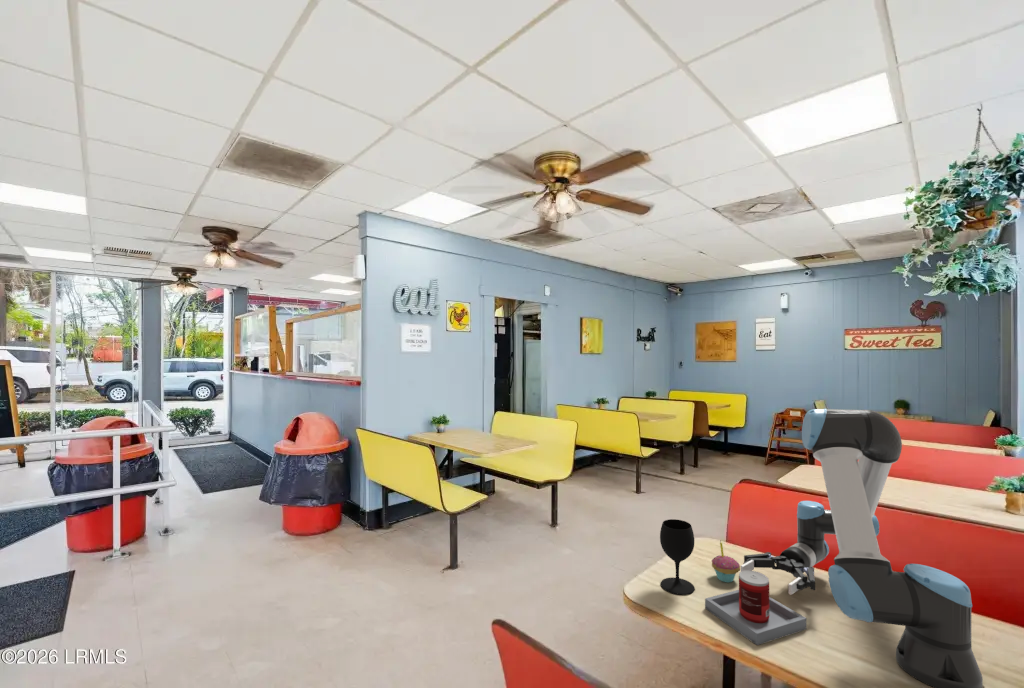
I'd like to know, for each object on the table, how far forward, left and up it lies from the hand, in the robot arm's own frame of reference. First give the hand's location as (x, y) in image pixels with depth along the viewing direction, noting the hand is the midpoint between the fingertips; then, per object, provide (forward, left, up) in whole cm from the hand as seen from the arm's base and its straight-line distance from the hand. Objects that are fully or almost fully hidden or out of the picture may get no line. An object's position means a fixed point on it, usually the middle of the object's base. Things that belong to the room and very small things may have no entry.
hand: (764, 579), depth 137 cm
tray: (-2, +7, -9) cm, 11 cm away
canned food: (-2, +6, -8) cm, 11 cm away
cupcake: (+18, -3, -9) cm, 21 cm away
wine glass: (+20, +15, -9) cm, 26 cm away
